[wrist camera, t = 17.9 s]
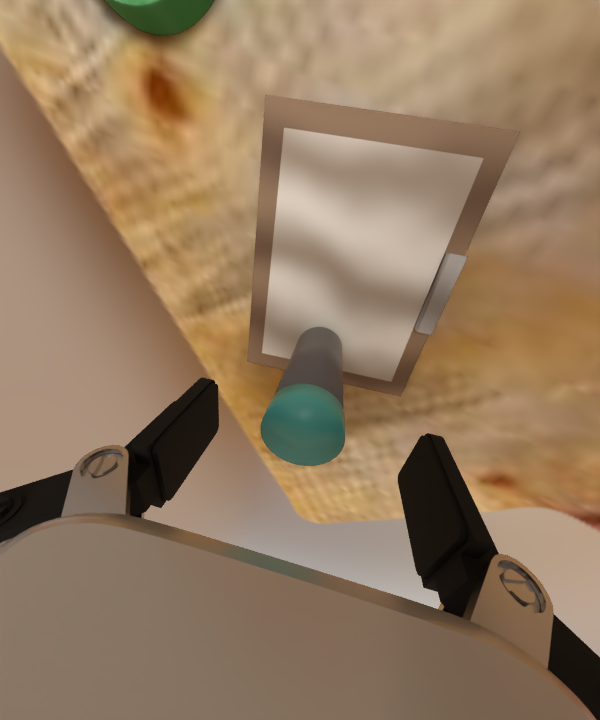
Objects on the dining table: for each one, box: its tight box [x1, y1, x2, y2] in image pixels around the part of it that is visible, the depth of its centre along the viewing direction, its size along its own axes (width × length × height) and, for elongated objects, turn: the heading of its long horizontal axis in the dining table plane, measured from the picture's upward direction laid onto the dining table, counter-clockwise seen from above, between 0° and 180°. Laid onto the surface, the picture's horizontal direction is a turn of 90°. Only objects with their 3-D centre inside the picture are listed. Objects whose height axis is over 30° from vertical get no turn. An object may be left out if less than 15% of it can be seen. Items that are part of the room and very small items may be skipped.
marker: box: [261, 327, 345, 466], centre depth 16 cm, size 4×4×12 cm
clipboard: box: [248, 95, 520, 396], centre depth 19 cm, size 20×16×2 cm
